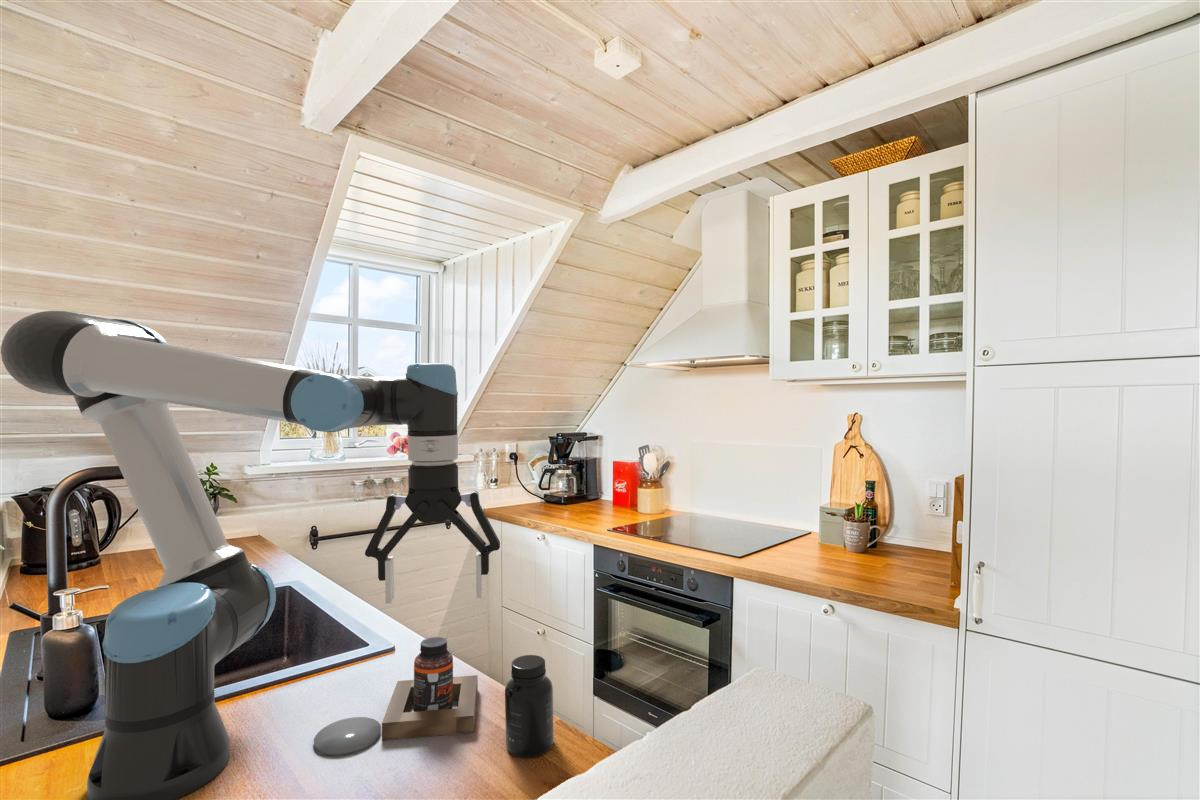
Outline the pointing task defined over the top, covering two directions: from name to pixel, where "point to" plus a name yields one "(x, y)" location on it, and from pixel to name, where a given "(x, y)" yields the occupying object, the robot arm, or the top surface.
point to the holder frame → (430, 712)
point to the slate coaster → (347, 736)
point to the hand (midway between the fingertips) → (435, 598)
